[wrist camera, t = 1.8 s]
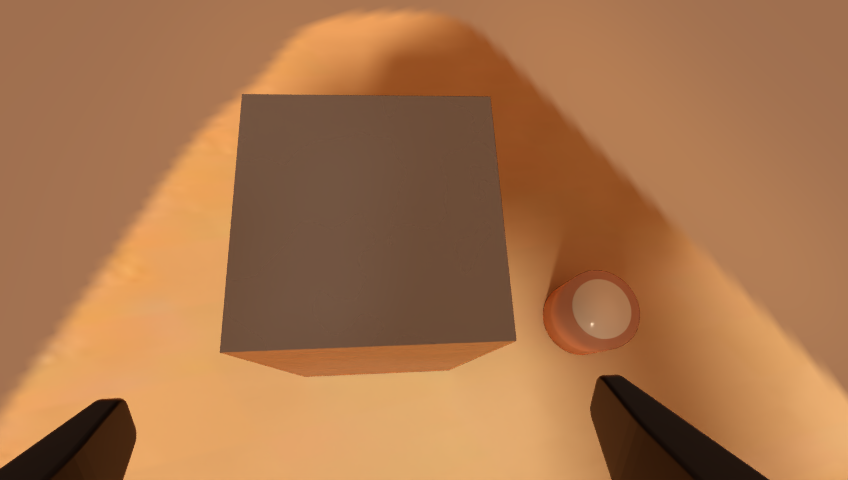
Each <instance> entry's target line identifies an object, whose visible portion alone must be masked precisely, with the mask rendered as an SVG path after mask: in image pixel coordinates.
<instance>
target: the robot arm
mask: <svg viewBox="0 0 848 480" xmlns="http://www.w3.org/2000/svg"><path fill="white" fill-rule="evenodd" d="M590 411H591V417H592V421H593V424H594V427H595V430H596V433H597V436H598V439H599V442H600V445H601V448H602V451H603V455H604V458H605V461H606V464H607V467H608V470H609V473H610V476H611V479H612V480H769V479H767V478H766V477H765V476H763V475H762V474H760V473H759V472H758V471H756V470H755V469H753V468H752V467H750V466H749V465H748V464H746V463H745V462H743V461H742V460H740V459H739V458H738V457H736V456H735V455H733V454H732V453H731V452H729V451H728V450H726V449H725V448H723V447H722V446H721V445H719V444H718V443H716V442H715V441H713V440H712V439H711V438H709V437H708V436H706V435H705V434H703V433H702V432H701V431H699V430H698V429H696V428H695V427H694V426H692V425H691V424H689V423H688V422H686V421H685V420H684V419H682V418H681V417H679V416H678V415H676V414H675V413H674V412H672V411H671V410H669V409H668V408H667V407H665V406H664V405H662V404H661V403H659V402H658V401H657V400H655V399H654V398H652V397H651V396H649V395H648V394H647V393H645V392H644V391H642V390H641V389H639V388H638V387H637V386H635V385H634V384H632V383H631V382H630V381H628V380H627V379H625V378H624V377H622V376H620V375H602V376H600V377H599V378H598V379H597V381H596V385H595V389H594V393H593V397H592V401H591V406H590ZM135 442H136V428H135V425H134V422H133V419H132V417H131V414H130V411H129V408H128V405H127V403H126V401H125V400H124V399H121V398H113V399H100V400H97V401H95V402H94V403H92V404H91V405H89V406H88V407H87V408H85V409H84V410H82V411H81V412H79V413H78V414H77V415H75V416H74V417H72V418H71V419H70V420H68V421H67V422H65V423H64V424H63V425H61V426H60V427H58V428H57V429H55V430H54V431H53V432H51V433H50V434H48V435H47V436H46V437H44V438H43V439H41V440H40V441H39V442H37V443H36V444H34V445H33V446H32V447H30V448H29V449H27V450H26V451H24V452H23V453H22V454H20V455H19V456H17V457H16V458H15V459H13V460H12V461H10V462H9V463H8V464H6V465H5V466H3V467H2V468H0V480H123V478H124V475H125V472H126V469H127V466H128V463H129V460H130V457H131V454H132V451H133V448H134V445H135Z"/></svg>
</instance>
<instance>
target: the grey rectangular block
mask: <svg viewBox="0 0 848 480" xmlns="http://www.w3.org/2000/svg"><path fill="white" fill-rule="evenodd" d="M515 341H516V333H515V323H514V314H513V304H512V295H511V286H510V276H509V267H508V258H507V248H506V239H505V230H504V220H503V211H502V202H501V192H500V183H499V173H498V164H497V155H496V145H495V136H494V127H493V117H492V108H491V99H490V97H478V96H373V95H269V94H242V102H241V113H240V125H239V137H238V148H237V160H236V171H235V183H234V195H233V206H232V218H231V229H230V241H229V252H228V264H227V276H226V287H225V299H224V310H223V322H222V334H221V345H220V353H223V354H227V355H230V356H234V357H237V358H241V359H244V360H248V361H251V362H255V363H258V364H262V365H265V366H269V367H272V368H276V369H279V370H283V371H286V372H290V373H293V374H297V375H300V376H304V377H310V376H333V375H355V374H377V373H400V372H422V371H444V370H451V369H453V368H455V367H457V366H460V365H462V364H464V363H467V362H469V361H471V360H474V359H476V358H478V357H480V356H483V355H485V354H487V353H490V352H492V351H494V350H497V349H499V348H501V347H503V346H506V345H508V344H510V343H513V342H515Z"/></svg>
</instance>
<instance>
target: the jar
mask: <svg viewBox="0 0 848 480" xmlns="http://www.w3.org/2000/svg"><path fill="white" fill-rule="evenodd" d="M543 320H544V325H545V328H546V331H547V333H548V335H549V336H550V338H551V339H552V340H553V342H554V343H555V344H556V345H558V346H559V347H560V348H562V349H563V350H565V351H567V352H569V353H573V354H577V355H586V354H592V353H596V352H601V351H605V350H610V349H614V348H618V347H620V346H623V345H624V344H626V343H627V342H628V341H629V340H630V339H631V338H632V337H633V336H634V334H635V333H636V331H637V328H638V325H639V320H640V311H639V305H638V302H637V299H636V297H635V295H634V293H633V291H632V290H631V288H630V287H629V286H628V285H627V284H626V283H625V282H624V281H623V280H622V279H620V278H619V277H617V276H615V275H613V274H611V273H609V272H605V271H600V270H593V271H587V272H584V273H581V274H579V275H577V276H576V277H574V278H573V279H571V280H569V281H568V282H566V283H565V284H563V285H562V286H560V287H558V288H557V289H556V290H554V291H553V292H552V293H551V294H550V295H549V297H548V298H547V300H546V302H545V305H544V310H543Z"/></svg>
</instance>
